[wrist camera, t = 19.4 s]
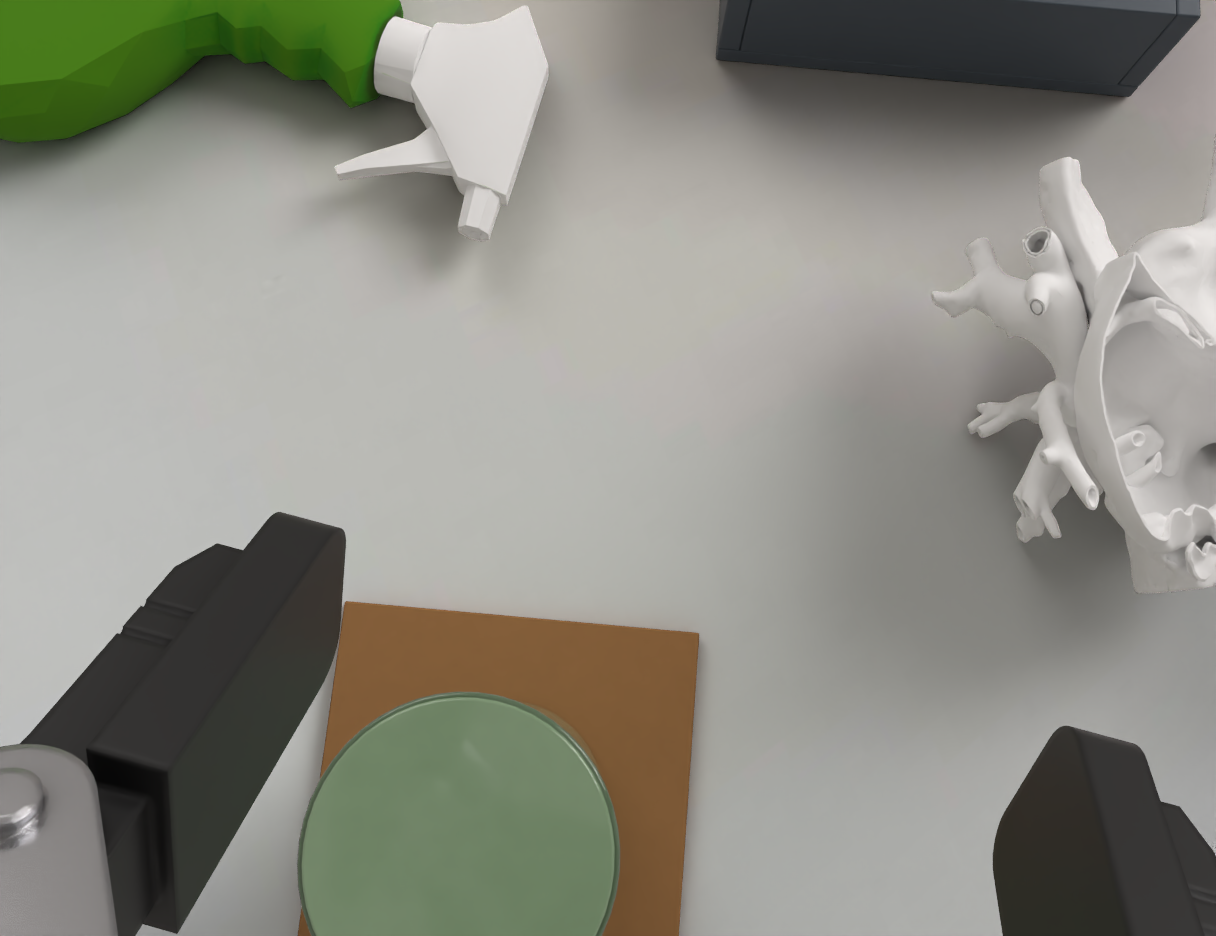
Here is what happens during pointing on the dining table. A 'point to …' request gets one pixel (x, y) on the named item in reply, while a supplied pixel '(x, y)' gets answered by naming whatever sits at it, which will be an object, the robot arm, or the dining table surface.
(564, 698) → the cork mat
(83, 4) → the spray bottle
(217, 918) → the dining table surface
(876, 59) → the tray
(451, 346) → the dining table surface
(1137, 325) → the heart
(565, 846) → the canister
